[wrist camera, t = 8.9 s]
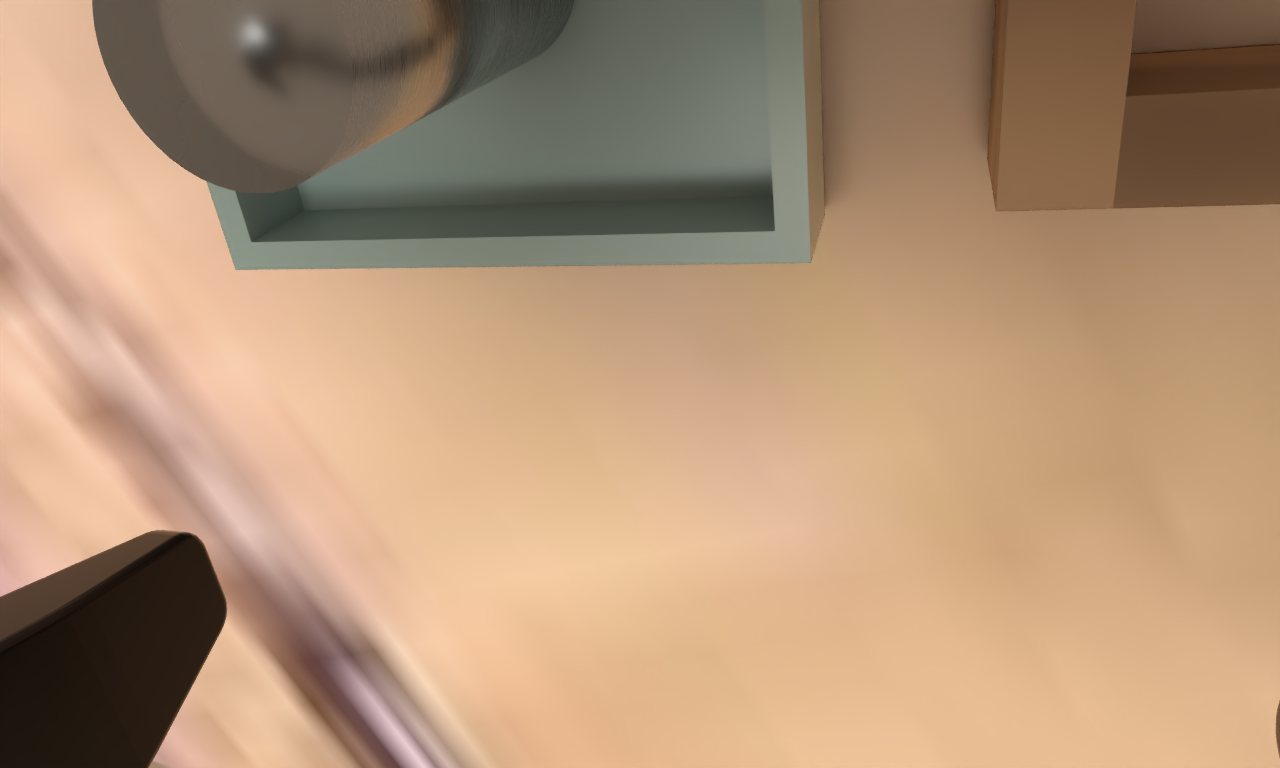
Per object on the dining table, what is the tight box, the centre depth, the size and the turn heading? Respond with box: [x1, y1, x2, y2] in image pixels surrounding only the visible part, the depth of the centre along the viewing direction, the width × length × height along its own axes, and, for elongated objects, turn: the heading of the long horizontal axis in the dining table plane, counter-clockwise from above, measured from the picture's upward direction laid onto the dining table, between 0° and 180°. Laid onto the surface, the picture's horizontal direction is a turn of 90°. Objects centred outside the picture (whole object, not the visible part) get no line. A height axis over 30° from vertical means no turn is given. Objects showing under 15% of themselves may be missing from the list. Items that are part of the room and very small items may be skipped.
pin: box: [92, 0, 574, 194], centre depth 15 cm, size 3×3×8 cm
